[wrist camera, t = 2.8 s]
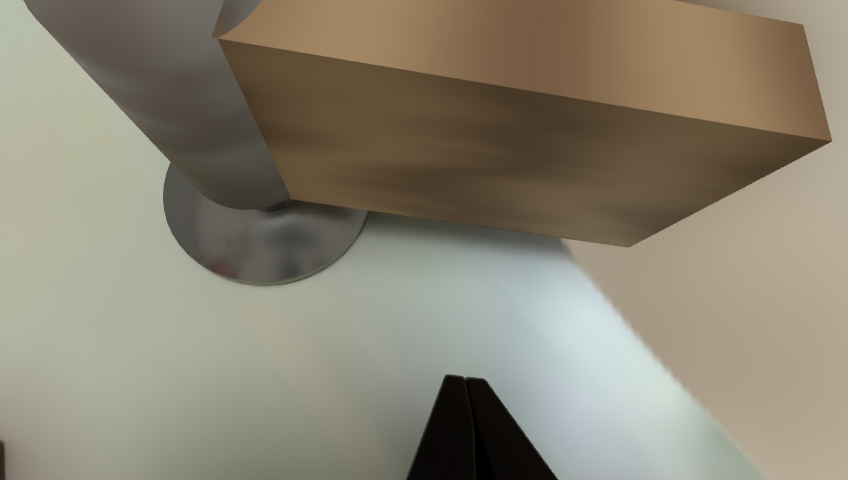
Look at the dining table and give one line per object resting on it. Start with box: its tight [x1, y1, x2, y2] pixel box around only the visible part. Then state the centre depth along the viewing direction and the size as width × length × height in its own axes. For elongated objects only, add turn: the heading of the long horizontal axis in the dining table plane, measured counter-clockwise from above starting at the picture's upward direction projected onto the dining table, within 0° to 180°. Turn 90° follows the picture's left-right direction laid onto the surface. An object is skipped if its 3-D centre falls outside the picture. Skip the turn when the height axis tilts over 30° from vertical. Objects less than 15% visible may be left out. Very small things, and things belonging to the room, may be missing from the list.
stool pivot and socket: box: [163, 163, 369, 285], centre depth 17 cm, size 11×17×4 cm, turn 124°
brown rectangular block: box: [24, 0, 832, 247], centre depth 11 cm, size 16×4×7 cm, turn 84°
